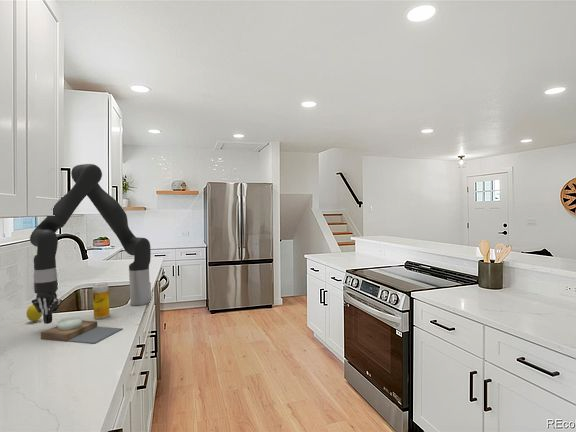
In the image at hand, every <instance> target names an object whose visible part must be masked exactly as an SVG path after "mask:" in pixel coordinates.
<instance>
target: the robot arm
mask: <svg viewBox="0 0 576 432" xmlns="http://www.w3.org/2000/svg"><path fill="white" fill-rule="evenodd" d="M70 173H71V176H70V177H72V181H73V182H74V185H73V186H72V188H71V189H70V190H68V192H66V193H65V194H64V195H63V196H62V197H61V198H60V199H59V200H57V202H56V203H55V204H54V205H53V207H54V208H53V207H52V208H53V215H55V216H46V217H45V218H44V219H43V220H42V221H41V222H40V223H39V224H38V225H37V226H36V227H35V228H34V229H33V231H32V232H31V233H30V237H29V242H30V243H31V245H32V246H34V247H37V248H36V249H37V250H36V254H35V255H34V257H33V290H34V293H35V294H36V296H35V299H32V300H31V303H32V305H34V306H35V308H36V309H37V311H38V312H39V313H40V312H41V313H42V317H43V318H42V319H43V324H44V325H48V324H51V323H52V322H53V314H54V313H55V312H57V311H58V309H59V307H60V306H61V304H62V302H63V300H62V299H59V298H58V294H57V291H58V290H59V287H58V271H57V262H56V261H57V260H56V257H57V256H56V255H57V251H58V245H59V240H58V236H57V234H56V232H58V230H59V229H62V228H64V227H65V225H66V224H67V223H68V221H69V220H70V218H71V216H72V215H73V214H74V212H75V211H76V209H77V208H78V206H79V205H80V204H81V203H82V201H83V200H84V199H85V198H86V196H87V197H88V199H89V200H90V201H91V203H92V204H93V206H94V207H95V208H96V210H97V211H98V213H99V214H100V215H101V217H102V218H103V220H104V221H105V223H106V224H107V225H108V226H109V228H110V229H111V230H112V232H113V233H114V235H115V236H116V237H117V239H118V240H119V243H120V244H121V245H122V248H123V249H124V251H125V252H126V254H128V255H130V256H133V257H134V258H133V262H131V263H129V265H128V273H129V274H128V277H129V298H130V299H129V300H130V301H129V303H130V305H131V306H143V305H147V304H149V303H151V301H152V283H151V281H150V264H151V253H152V252H151V248H152V247H151V243H150V241H149V240H148V238H145V237H137V236H135V235H134V233H133V232H132V230H131V229H130V227H129V223H128V216H127V213H126V212H125V210H124V209H123V207H122V206H121V205H120V203H119V201H117V200H116V198H114V197H113V196H111V195H110V194H109V193H108V192H106V191H105V190H104V189H103V188H102V187H101V186H100V184H99V183H100V181H102V177H103V172H102V170H101V167H99V166H98V165H96V164H94V163H84V164H77V165H75V166H73V168H72V169H71V171H70ZM39 307H40V308H39Z"/></svg>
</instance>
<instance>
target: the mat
mask: <svg viewBox="0 0 576 432" xmlns="http://www.w3.org/2000/svg"><path fill="white" fill-rule="evenodd" d="M122 330H124V329H123V327H109V326H97V327H96V328H94V329H92V330H89V331H87V332H85V333H83V334H81V335H79V336H76V337H74V338H72V339H70V340H68V341H67V342H69V343H79V344H80V343H81V344H91V345H92V344H93V345H95V344H98V343H99V342H101V341H103V340H105V339H107V338H109V337H111V336H112V335H114V334H116V333H119V332H121V331H122Z"/></svg>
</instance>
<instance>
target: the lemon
mask: <svg viewBox="0 0 576 432" xmlns="http://www.w3.org/2000/svg"><path fill="white" fill-rule="evenodd" d="M39 308H40V307H39ZM42 317H43V314H42V313H41V312H40V313H39V312H38V311H37V309H36V308H35V306H34V305H33V304H31V305H29V306H28V308H27V310H26V318H27V319H28V320H29V321H32V322H33V323H36V322H37V321H38V320H39V319H41V318H42Z"/></svg>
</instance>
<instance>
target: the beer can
mask: <svg viewBox="0 0 576 432" xmlns="http://www.w3.org/2000/svg"><path fill="white" fill-rule="evenodd" d="M109 294H110V293H109V284H108V282H104V281H103V282H97V283H96V282H95V283H93V286H92V303H93V304H92V306H93V318H95V319H96V320H103V319H107V318H108V317H109V316H110V295H109Z"/></svg>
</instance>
